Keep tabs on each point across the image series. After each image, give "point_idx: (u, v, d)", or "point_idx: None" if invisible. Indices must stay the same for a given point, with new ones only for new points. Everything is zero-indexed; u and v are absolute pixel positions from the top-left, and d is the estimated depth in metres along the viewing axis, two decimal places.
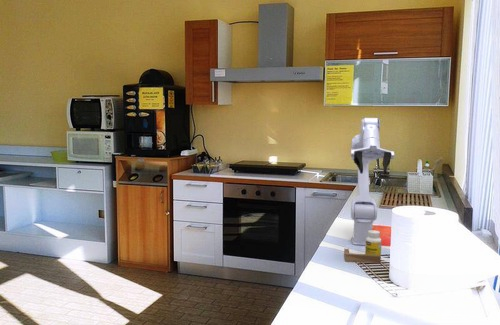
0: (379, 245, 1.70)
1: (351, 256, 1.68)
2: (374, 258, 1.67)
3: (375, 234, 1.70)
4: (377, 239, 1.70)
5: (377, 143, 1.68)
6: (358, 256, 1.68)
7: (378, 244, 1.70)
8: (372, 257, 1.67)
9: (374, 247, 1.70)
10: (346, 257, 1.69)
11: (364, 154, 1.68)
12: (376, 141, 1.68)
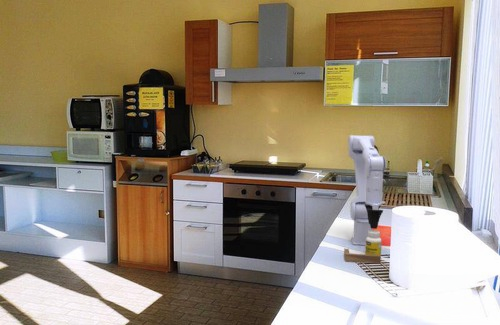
0: (379, 245, 1.70)
1: (351, 256, 1.68)
2: (374, 258, 1.67)
3: (375, 234, 1.70)
4: (377, 239, 1.70)
5: None
6: (358, 256, 1.68)
7: (378, 244, 1.70)
8: (372, 257, 1.67)
9: (374, 247, 1.70)
10: (346, 257, 1.69)
11: None
12: None
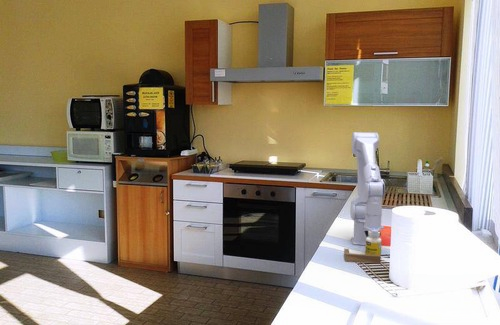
0: (379, 245, 1.70)
1: (351, 256, 1.68)
2: (374, 258, 1.67)
3: None
4: (377, 239, 1.70)
5: None
6: (358, 256, 1.68)
7: (378, 244, 1.70)
8: (372, 257, 1.67)
9: (374, 247, 1.70)
10: (346, 257, 1.69)
11: None
12: None
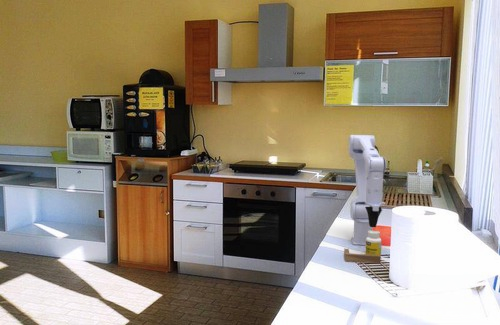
0: (379, 245, 1.70)
1: (351, 256, 1.68)
2: (374, 258, 1.67)
3: (375, 234, 1.70)
4: (377, 239, 1.70)
5: None
6: (358, 256, 1.68)
7: (378, 244, 1.70)
8: (372, 257, 1.67)
9: (374, 247, 1.70)
10: (346, 257, 1.69)
11: None
12: None
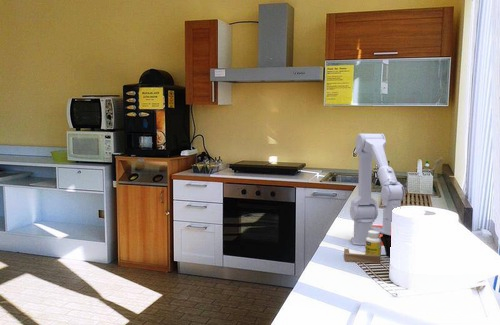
0: (379, 245, 1.70)
1: (351, 256, 1.68)
2: (374, 258, 1.67)
3: (375, 234, 1.70)
4: (377, 239, 1.70)
5: None
6: (358, 256, 1.68)
7: (378, 244, 1.70)
8: (372, 257, 1.67)
9: (374, 247, 1.70)
10: (346, 257, 1.69)
11: None
12: None
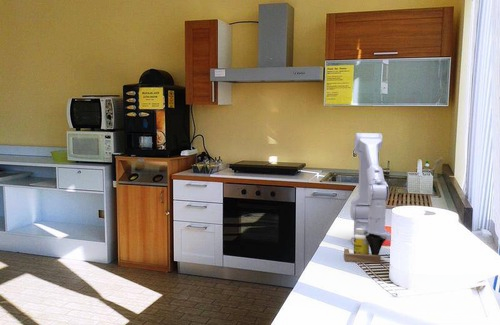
0: (364, 242, 1.72)
1: (351, 256, 1.68)
2: (374, 258, 1.67)
3: (360, 230, 1.73)
4: (362, 236, 1.72)
5: None
6: (358, 256, 1.68)
7: (363, 240, 1.72)
8: (372, 257, 1.67)
9: (358, 243, 1.72)
10: (346, 257, 1.69)
11: None
12: None
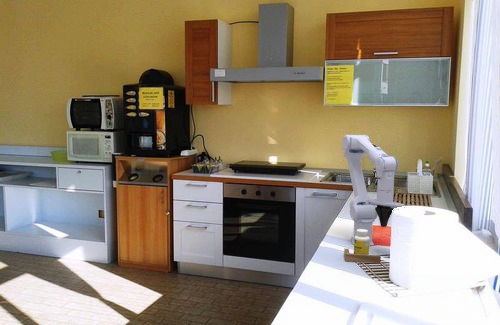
0: (365, 244, 1.71)
1: (351, 256, 1.68)
2: (374, 258, 1.67)
3: (361, 232, 1.72)
4: (363, 238, 1.72)
5: None
6: (358, 256, 1.68)
7: (363, 242, 1.71)
8: (372, 257, 1.67)
9: (359, 245, 1.72)
10: (346, 257, 1.69)
11: None
12: None
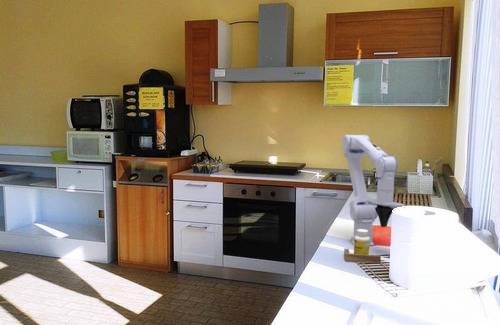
0: (365, 244, 1.71)
1: (351, 256, 1.68)
2: (374, 258, 1.67)
3: (361, 233, 1.72)
4: (363, 238, 1.71)
5: None
6: (358, 256, 1.68)
7: (364, 242, 1.71)
8: (372, 257, 1.67)
9: (359, 245, 1.72)
10: (346, 257, 1.69)
11: None
12: None
